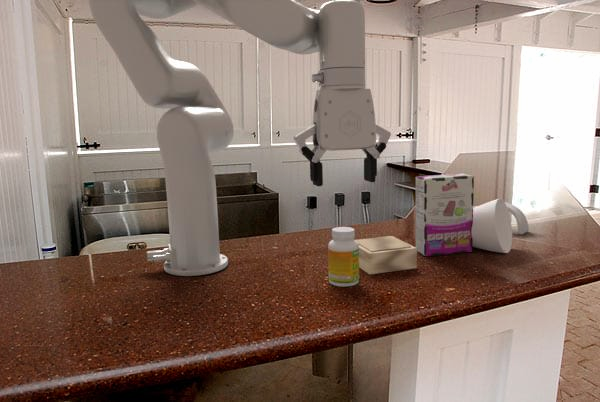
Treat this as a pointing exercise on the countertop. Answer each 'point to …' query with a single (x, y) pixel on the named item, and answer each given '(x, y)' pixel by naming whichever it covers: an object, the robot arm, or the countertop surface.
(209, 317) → the countertop surface
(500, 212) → the rocket engine
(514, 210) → the spoon rest
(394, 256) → the plinth
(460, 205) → the candy bar box
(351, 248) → the supplement bottle
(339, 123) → the robot arm
